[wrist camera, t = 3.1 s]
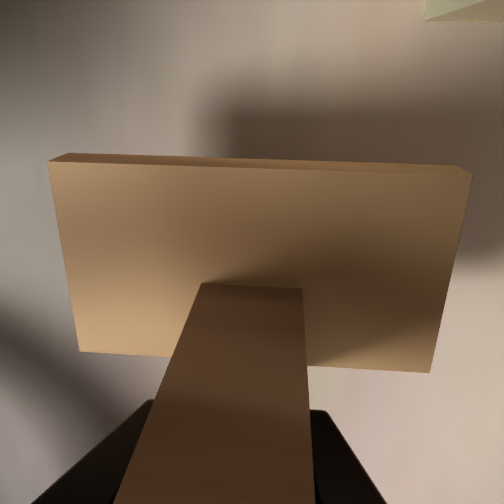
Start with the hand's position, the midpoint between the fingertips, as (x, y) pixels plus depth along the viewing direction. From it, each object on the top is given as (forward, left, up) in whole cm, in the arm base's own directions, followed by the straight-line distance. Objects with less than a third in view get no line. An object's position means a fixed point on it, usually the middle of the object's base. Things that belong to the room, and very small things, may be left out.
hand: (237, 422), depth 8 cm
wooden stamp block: (+1, 0, -4) cm, 4 cm away
